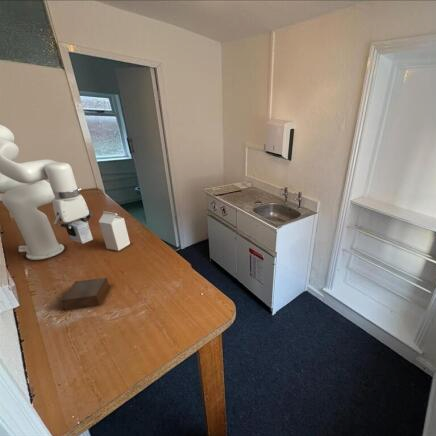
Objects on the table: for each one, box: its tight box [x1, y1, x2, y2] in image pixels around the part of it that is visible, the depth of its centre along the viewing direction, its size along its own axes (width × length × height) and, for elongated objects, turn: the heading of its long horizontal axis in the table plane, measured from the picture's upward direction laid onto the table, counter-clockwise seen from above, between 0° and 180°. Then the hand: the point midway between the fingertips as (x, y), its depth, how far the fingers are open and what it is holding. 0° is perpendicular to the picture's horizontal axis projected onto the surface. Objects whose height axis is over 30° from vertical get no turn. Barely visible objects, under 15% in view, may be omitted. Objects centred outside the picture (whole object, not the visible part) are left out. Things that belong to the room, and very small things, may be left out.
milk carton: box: [98, 210, 131, 252], centre depth 114 cm, size 7×7×19 cm
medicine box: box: [68, 219, 94, 245], centre depth 102 cm, size 8×4×9 cm, turn 71°
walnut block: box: [60, 277, 110, 311], centre depth 86 cm, size 10×10×4 cm
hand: (79, 232), depth 102 cm, fingers closed on medicine box, 4 cm apart
